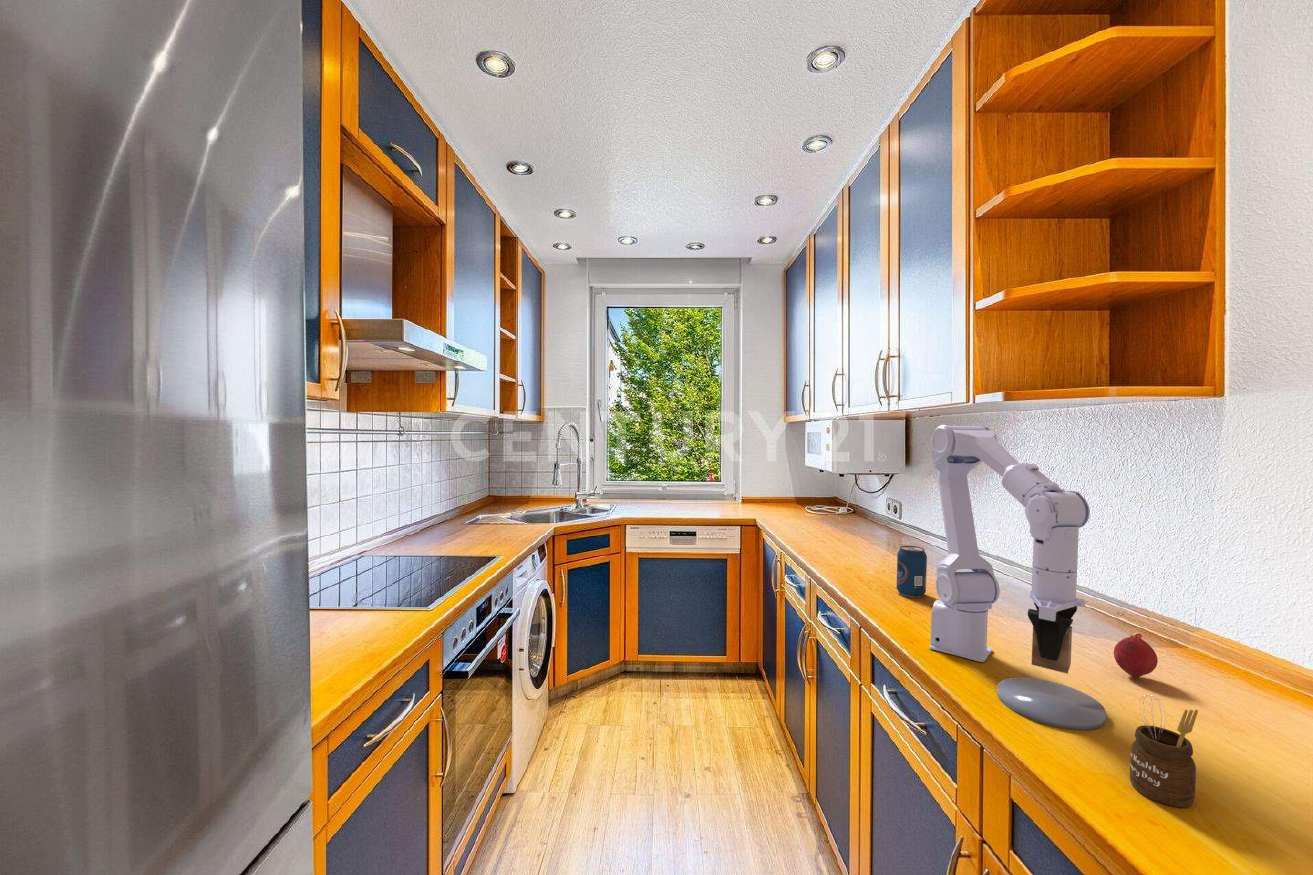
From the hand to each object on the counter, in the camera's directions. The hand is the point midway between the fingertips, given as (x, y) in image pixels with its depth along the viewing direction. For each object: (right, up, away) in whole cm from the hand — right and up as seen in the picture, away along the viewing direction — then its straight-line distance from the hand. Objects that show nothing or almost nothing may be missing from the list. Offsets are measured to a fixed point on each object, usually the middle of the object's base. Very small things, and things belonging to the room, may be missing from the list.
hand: (1051, 653), depth 88 cm
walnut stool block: (0, -2, 0) cm, 2 cm away
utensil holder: (-1, -9, -20) cm, 22 cm away
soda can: (+3, -7, +56) cm, 56 cm away
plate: (0, -8, 0) cm, 8 cm away
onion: (+22, -8, +10) cm, 26 cm away
